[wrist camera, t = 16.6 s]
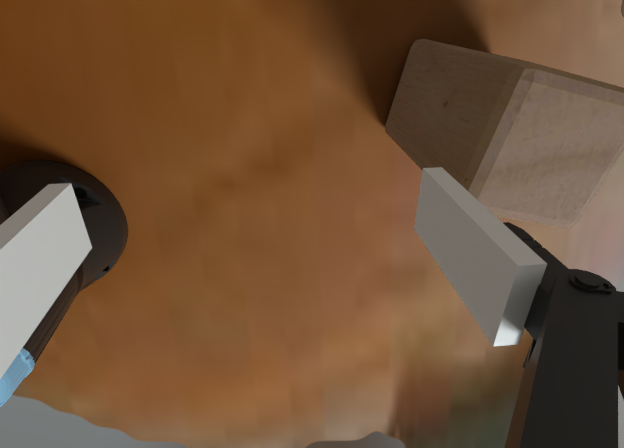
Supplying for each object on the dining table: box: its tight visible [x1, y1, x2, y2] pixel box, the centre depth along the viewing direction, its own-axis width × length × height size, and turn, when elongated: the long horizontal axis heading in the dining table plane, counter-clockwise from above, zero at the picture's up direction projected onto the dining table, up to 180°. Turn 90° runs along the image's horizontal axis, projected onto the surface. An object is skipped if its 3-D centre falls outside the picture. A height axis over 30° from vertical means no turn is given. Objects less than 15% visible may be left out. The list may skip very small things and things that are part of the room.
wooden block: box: [385, 39, 624, 228], centre depth 34 cm, size 10×10×20 cm
